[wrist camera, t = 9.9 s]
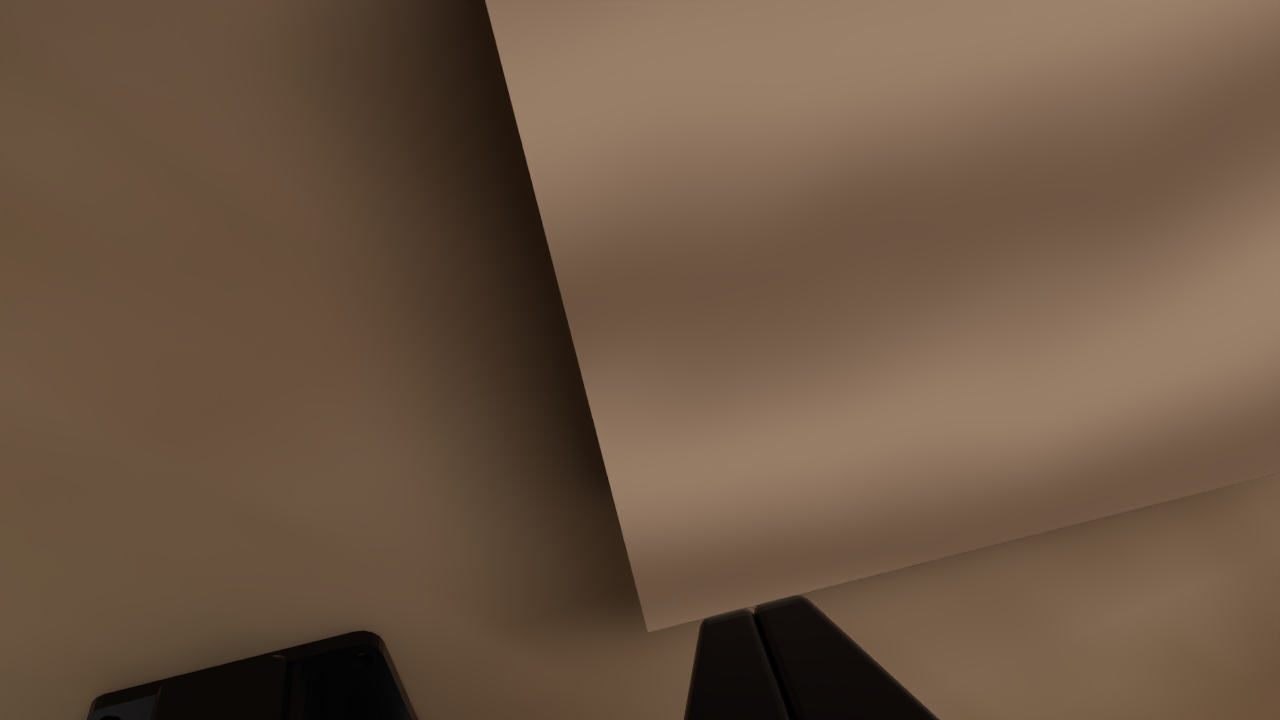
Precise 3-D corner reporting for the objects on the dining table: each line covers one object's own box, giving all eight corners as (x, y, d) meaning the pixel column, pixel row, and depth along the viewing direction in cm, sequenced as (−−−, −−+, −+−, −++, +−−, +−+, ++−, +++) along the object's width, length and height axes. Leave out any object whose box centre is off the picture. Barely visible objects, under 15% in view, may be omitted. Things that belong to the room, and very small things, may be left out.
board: (1334, 318, 26) (1469, 425, 23) (616, 496, 25) (648, 632, 22) (1465, -449, 18) (1702, -459, 15) (435, -215, 18) (441, -171, 14)
